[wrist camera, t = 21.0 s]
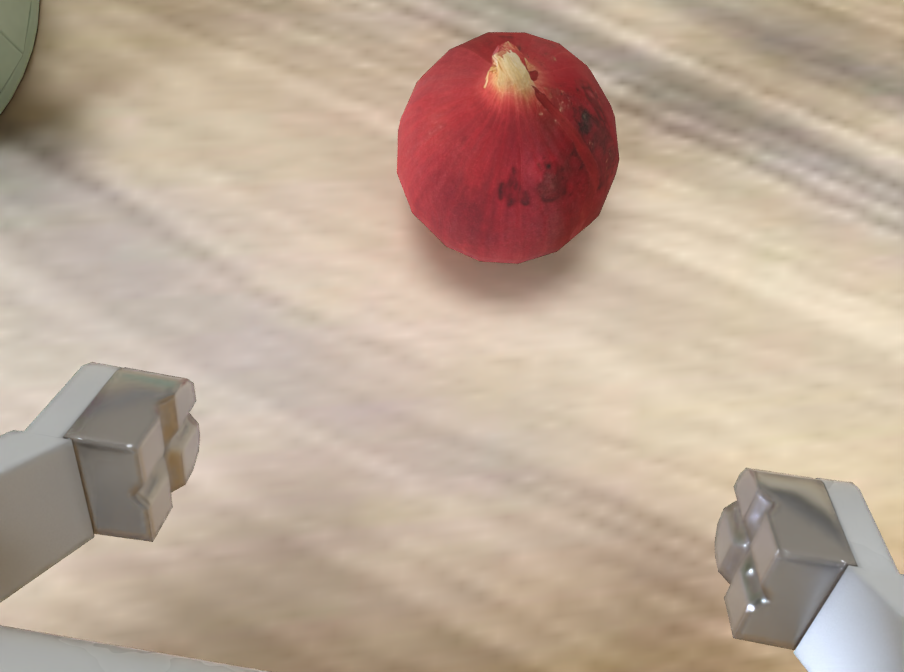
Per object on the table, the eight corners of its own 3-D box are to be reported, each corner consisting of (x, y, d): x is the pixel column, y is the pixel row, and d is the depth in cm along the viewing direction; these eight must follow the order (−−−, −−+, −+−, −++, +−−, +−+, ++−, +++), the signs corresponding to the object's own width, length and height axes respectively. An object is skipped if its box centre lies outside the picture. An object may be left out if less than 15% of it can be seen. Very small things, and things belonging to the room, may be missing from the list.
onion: (616, 156, 24) (696, -1, 16) (551, 319, 23) (603, 238, 15) (447, 92, 24) (444, -91, 17) (377, 250, 23) (338, 135, 16)
